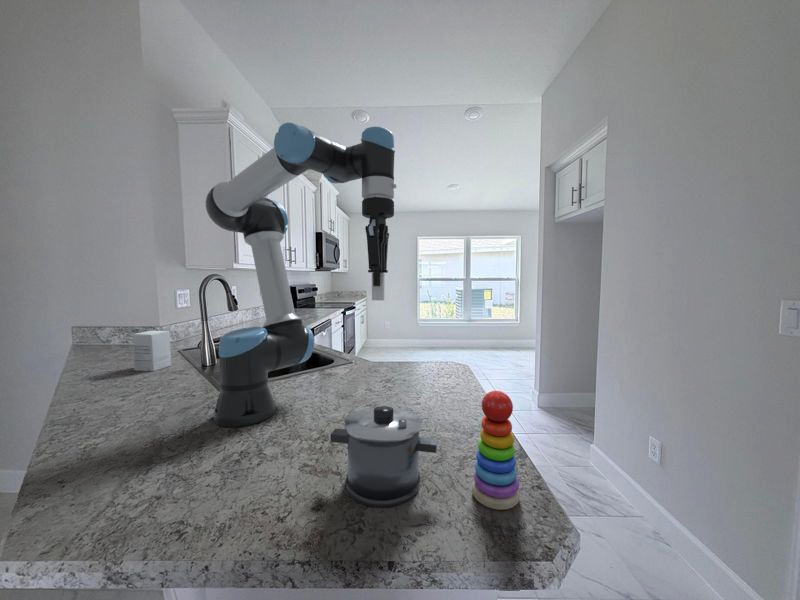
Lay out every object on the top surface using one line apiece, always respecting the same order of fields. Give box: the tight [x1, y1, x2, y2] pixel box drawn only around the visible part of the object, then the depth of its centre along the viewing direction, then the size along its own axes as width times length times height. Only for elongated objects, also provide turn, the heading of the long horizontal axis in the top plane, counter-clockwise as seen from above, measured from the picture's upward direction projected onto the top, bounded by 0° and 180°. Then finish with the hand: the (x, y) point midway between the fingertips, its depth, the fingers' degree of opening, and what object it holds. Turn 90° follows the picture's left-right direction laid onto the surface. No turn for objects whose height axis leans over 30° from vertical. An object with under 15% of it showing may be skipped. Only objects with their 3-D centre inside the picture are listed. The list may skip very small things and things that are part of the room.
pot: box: [330, 428, 438, 509], centre depth 60 cm, size 20×14×10 cm
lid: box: [344, 405, 423, 442], centre depth 60 cm, size 14×15×4 cm
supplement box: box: [131, 330, 172, 372], centre depth 134 cm, size 9×9×15 cm
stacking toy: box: [471, 390, 521, 511], centre depth 56 cm, size 8×8×19 cm
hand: (378, 300), depth 78 cm, fingers closed
